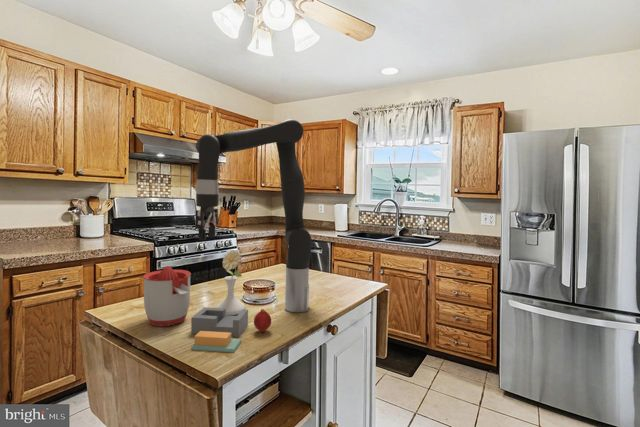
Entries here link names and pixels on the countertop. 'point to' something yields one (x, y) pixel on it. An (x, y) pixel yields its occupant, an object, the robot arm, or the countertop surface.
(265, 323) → the onion
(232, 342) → the mat
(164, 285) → the citrus juicer
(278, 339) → the countertop surface
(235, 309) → the flower in vase
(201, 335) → the plank
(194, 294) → the countertop surface
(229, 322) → the kitting block
